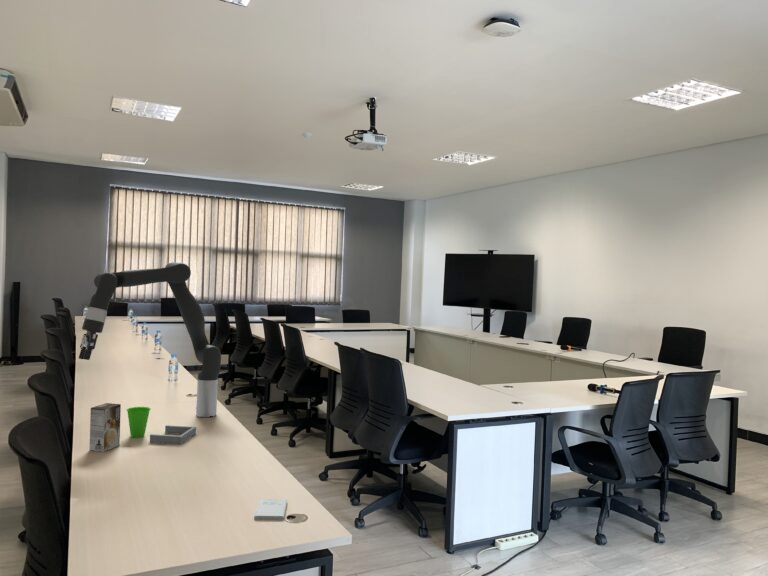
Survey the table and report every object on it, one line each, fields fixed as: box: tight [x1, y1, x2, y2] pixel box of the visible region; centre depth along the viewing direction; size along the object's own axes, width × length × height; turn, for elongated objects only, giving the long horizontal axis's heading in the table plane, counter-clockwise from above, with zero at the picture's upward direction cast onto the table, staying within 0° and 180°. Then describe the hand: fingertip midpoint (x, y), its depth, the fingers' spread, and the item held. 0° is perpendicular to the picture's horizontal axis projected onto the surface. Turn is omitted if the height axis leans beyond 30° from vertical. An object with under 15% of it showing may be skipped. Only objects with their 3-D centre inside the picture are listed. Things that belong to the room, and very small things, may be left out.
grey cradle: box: [149, 424, 197, 445], centre depth 235 cm, size 15×13×3 cm
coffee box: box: [88, 402, 122, 453], centre depth 218 cm, size 9×6×16 cm
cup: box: [126, 406, 152, 439], centre depth 236 cm, size 9×9×11 cm
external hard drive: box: [253, 498, 288, 521], centre depth 167 cm, size 2×8×12 cm
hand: (83, 359), depth 232 cm, fingers open, 8 cm apart
